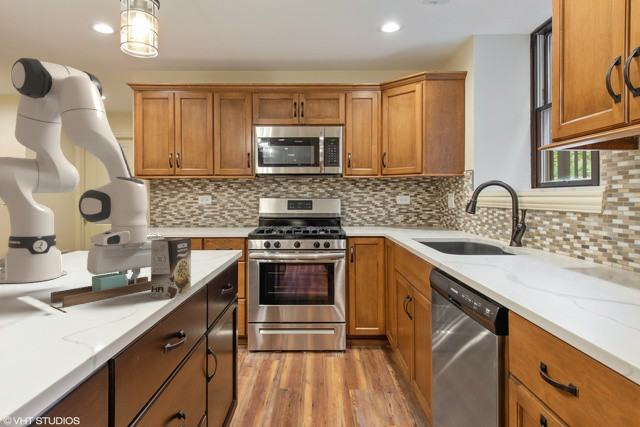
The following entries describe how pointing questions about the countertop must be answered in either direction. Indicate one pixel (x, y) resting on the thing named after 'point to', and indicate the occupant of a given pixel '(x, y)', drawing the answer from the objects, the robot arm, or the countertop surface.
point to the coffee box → (170, 267)
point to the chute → (97, 293)
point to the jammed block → (107, 281)
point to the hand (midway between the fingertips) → (129, 285)
